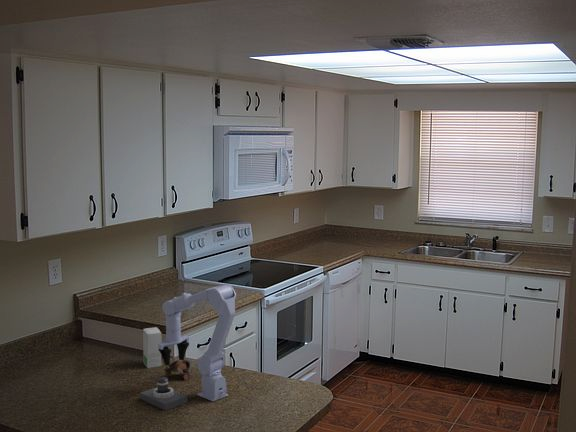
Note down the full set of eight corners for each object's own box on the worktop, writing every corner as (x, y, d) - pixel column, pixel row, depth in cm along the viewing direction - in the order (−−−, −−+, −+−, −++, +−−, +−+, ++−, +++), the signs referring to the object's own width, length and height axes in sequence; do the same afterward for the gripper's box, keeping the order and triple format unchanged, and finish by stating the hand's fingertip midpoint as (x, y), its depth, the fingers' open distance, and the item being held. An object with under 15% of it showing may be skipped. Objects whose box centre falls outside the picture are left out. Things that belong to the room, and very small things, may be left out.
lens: (167, 391, 257) (167, 376, 256) (169, 395, 253) (168, 380, 252) (157, 392, 256) (156, 377, 255) (158, 396, 252) (157, 381, 251)
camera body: (187, 402, 253) (186, 392, 252) (165, 410, 246) (165, 400, 245) (162, 391, 264) (161, 381, 263) (140, 398, 257) (140, 388, 256)
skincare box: (143, 362, 298) (142, 328, 296) (157, 360, 300) (156, 326, 298) (147, 368, 290) (146, 333, 288) (162, 366, 293) (161, 331, 291)
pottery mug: (183, 384, 273) (172, 367, 272) (168, 390, 278) (157, 373, 277) (199, 368, 282) (189, 352, 282) (185, 374, 288) (174, 358, 287)
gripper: (180, 323, 275) (181, 355, 276) (152, 331, 264) (153, 365, 265) (192, 326, 270) (192, 359, 272) (164, 334, 259) (165, 368, 261)
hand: (174, 362), depth 268 cm, fingers open, 7 cm apart
